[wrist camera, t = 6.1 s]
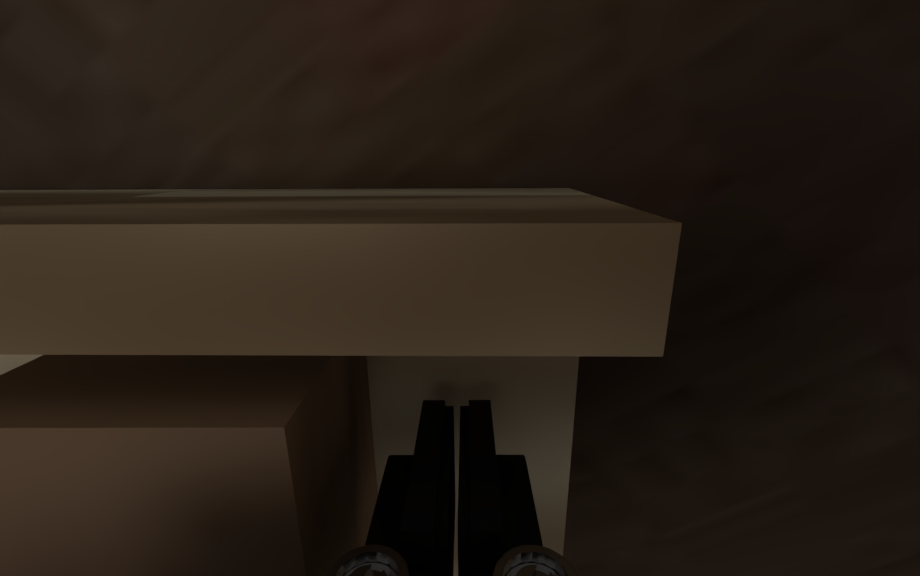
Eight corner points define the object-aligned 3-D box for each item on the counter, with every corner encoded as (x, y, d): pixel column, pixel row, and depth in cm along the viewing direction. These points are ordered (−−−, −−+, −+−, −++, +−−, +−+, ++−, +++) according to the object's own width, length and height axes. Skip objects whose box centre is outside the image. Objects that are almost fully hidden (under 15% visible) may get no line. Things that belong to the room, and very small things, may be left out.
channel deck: (-364, 191, 13) (-1225, 227, 6) (568, 188, 13) (681, 222, 6) (-111, 662, 19) (-428, 939, 12) (537, 673, 18) (576, 968, 12)
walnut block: (132, 313, 11) (-114, 427, 7) (362, 311, 11) (283, 427, 6) (178, 502, 13) (10, 702, 8) (378, 502, 13) (325, 705, 8)
